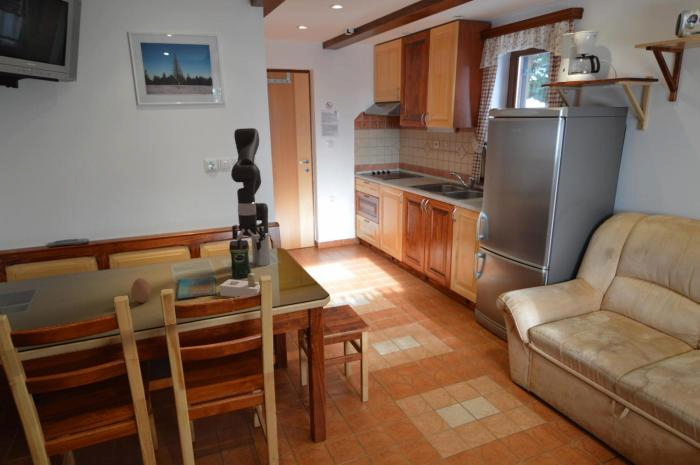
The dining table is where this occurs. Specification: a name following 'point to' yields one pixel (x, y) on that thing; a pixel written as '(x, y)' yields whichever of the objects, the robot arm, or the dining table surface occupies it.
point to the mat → (240, 279)
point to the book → (196, 288)
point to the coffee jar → (239, 260)
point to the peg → (251, 280)
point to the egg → (141, 290)
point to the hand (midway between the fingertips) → (249, 249)
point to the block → (238, 288)
